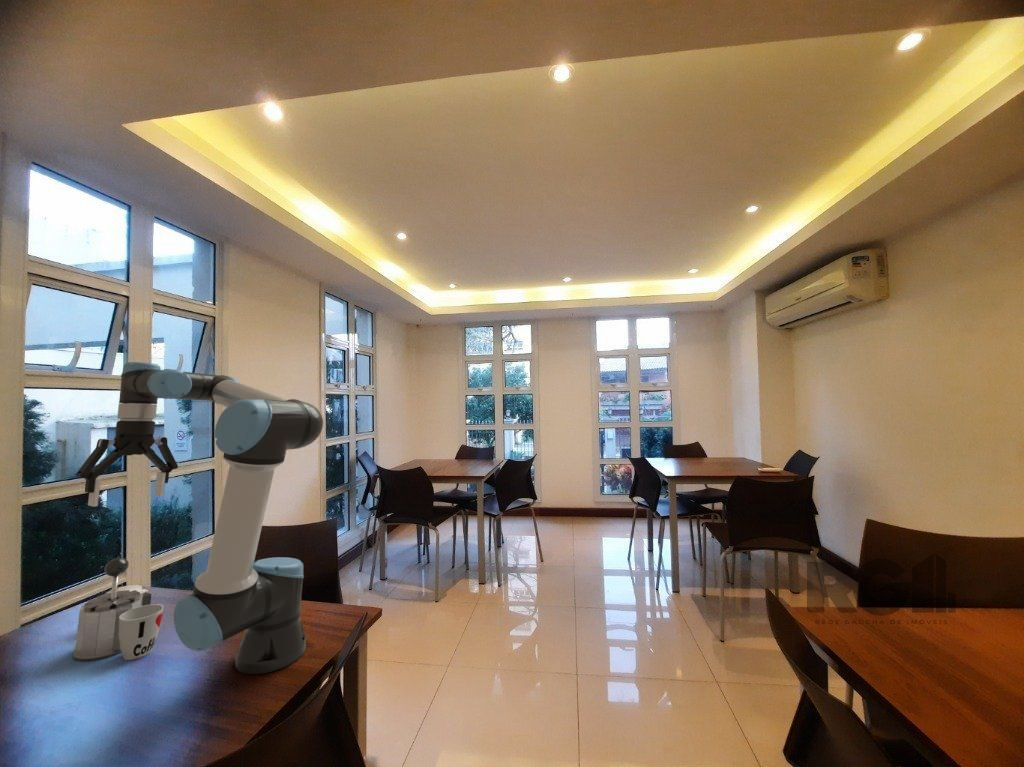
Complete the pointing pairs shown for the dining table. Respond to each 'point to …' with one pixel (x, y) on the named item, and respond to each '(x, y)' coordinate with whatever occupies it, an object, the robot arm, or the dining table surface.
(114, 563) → the plunger
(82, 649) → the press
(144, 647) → the cup
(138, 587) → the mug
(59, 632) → the dining table surface
